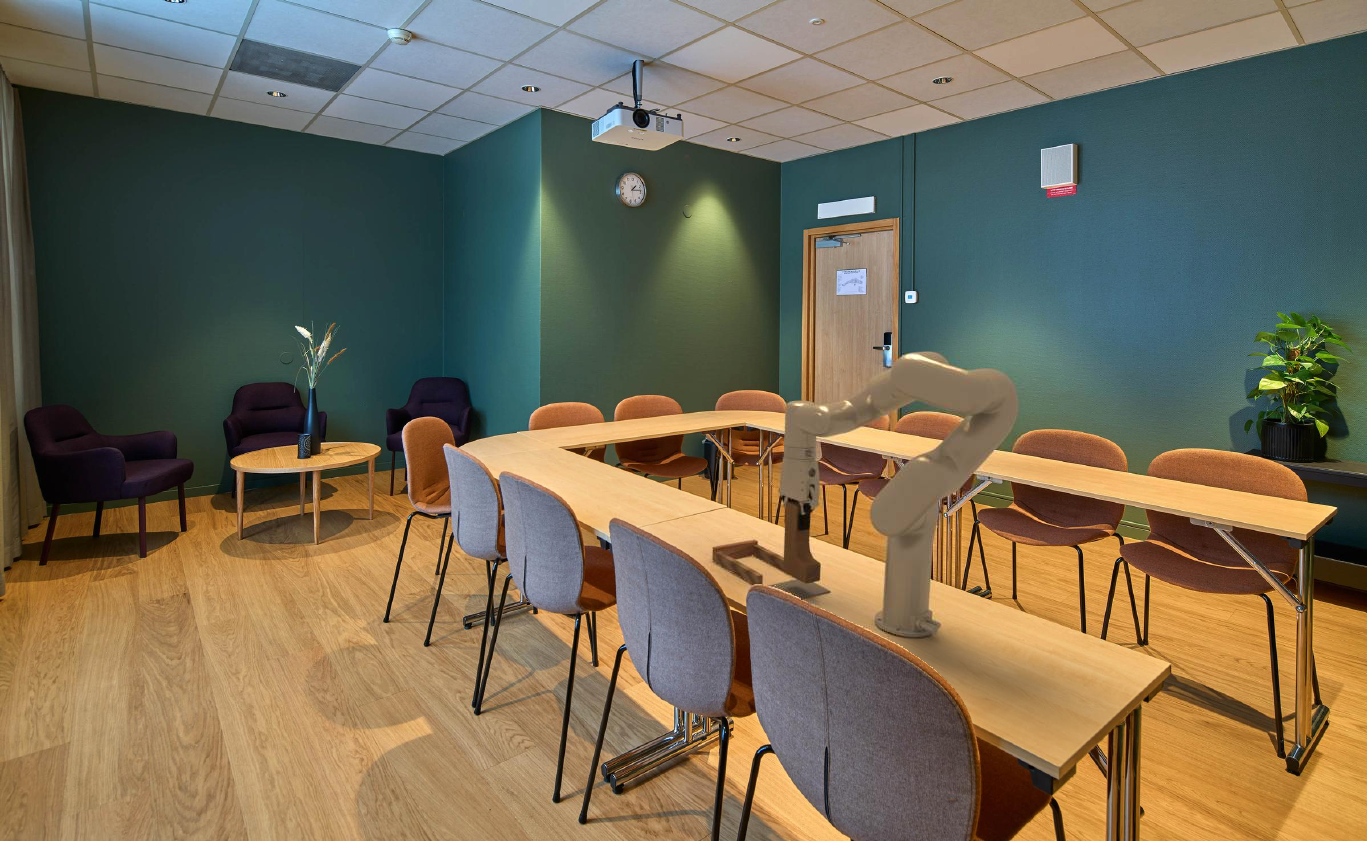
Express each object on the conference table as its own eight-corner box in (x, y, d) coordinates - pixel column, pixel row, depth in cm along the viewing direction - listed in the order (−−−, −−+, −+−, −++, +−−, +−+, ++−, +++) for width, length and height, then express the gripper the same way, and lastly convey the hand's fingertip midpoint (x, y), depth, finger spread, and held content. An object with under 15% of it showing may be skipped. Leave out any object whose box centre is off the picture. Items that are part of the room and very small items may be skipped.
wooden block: (820, 581, 168) (823, 508, 166) (805, 584, 166) (808, 510, 163) (797, 569, 176) (799, 499, 173) (782, 572, 174) (785, 501, 171)
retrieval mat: (830, 592, 173) (830, 590, 172) (784, 603, 166) (784, 601, 166) (804, 579, 181) (804, 577, 181) (759, 588, 174) (759, 587, 174)
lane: (802, 577, 182) (802, 563, 181) (757, 587, 175) (757, 572, 175) (754, 553, 201) (754, 539, 200) (712, 561, 194) (712, 547, 193)
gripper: (835, 457, 163) (832, 534, 166) (790, 445, 178) (787, 515, 180) (810, 460, 159) (807, 538, 162) (766, 448, 174) (763, 519, 177)
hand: (797, 525), depth 171 cm, fingers closed on wooden block, 4 cm apart
